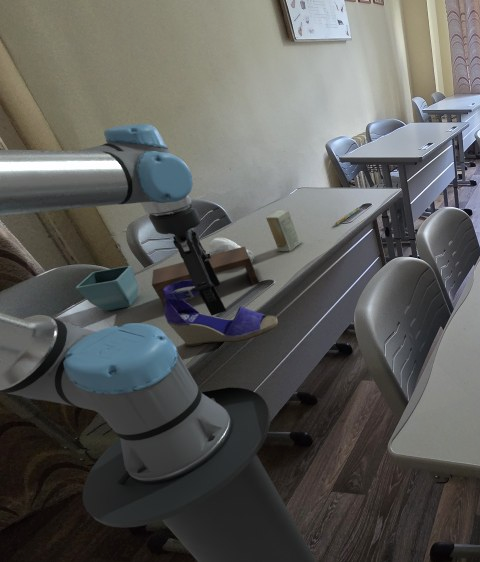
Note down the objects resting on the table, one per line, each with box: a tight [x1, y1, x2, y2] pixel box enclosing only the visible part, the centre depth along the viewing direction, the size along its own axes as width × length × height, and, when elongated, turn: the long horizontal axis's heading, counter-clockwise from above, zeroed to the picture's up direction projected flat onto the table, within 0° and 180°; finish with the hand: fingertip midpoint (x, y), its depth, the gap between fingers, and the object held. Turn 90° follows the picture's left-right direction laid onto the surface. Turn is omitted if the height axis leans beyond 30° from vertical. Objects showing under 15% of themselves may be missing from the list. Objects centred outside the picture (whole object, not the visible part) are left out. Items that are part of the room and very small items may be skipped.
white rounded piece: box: [208, 237, 255, 264], centre depth 124 cm, size 6×8×12 cm
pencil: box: [333, 207, 361, 227], centre depth 155 cm, size 1×1×18 cm
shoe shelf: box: [151, 246, 260, 308], centre depth 111 cm, size 22×10×8 cm, turn 126°
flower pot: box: [75, 265, 139, 312], centre depth 105 cm, size 9×9×9 cm
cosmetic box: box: [265, 209, 301, 252], centre depth 131 cm, size 6×4×12 cm
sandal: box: [163, 280, 279, 347], centre depth 90 cm, size 8×20×15 cm, turn 102°
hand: (216, 299), depth 89 cm, fingers open, 13 cm apart
